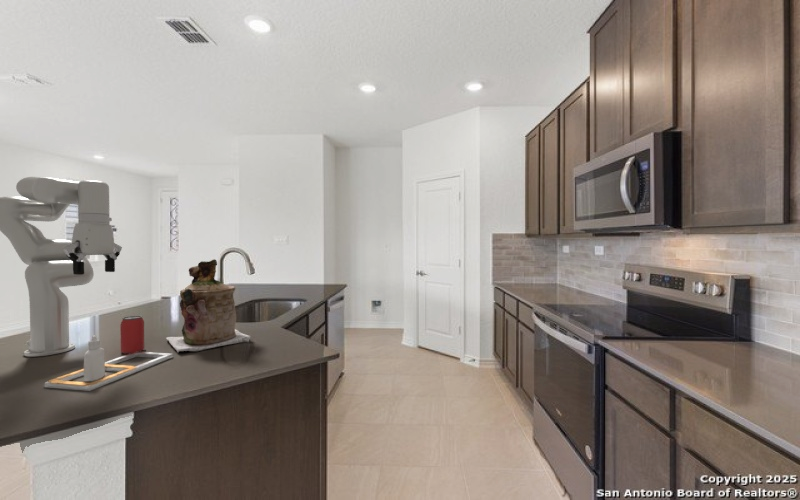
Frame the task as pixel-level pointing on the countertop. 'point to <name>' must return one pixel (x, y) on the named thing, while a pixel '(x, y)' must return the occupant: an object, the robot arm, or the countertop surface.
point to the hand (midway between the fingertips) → (95, 273)
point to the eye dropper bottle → (94, 361)
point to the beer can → (132, 334)
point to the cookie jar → (207, 312)
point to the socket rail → (109, 366)
